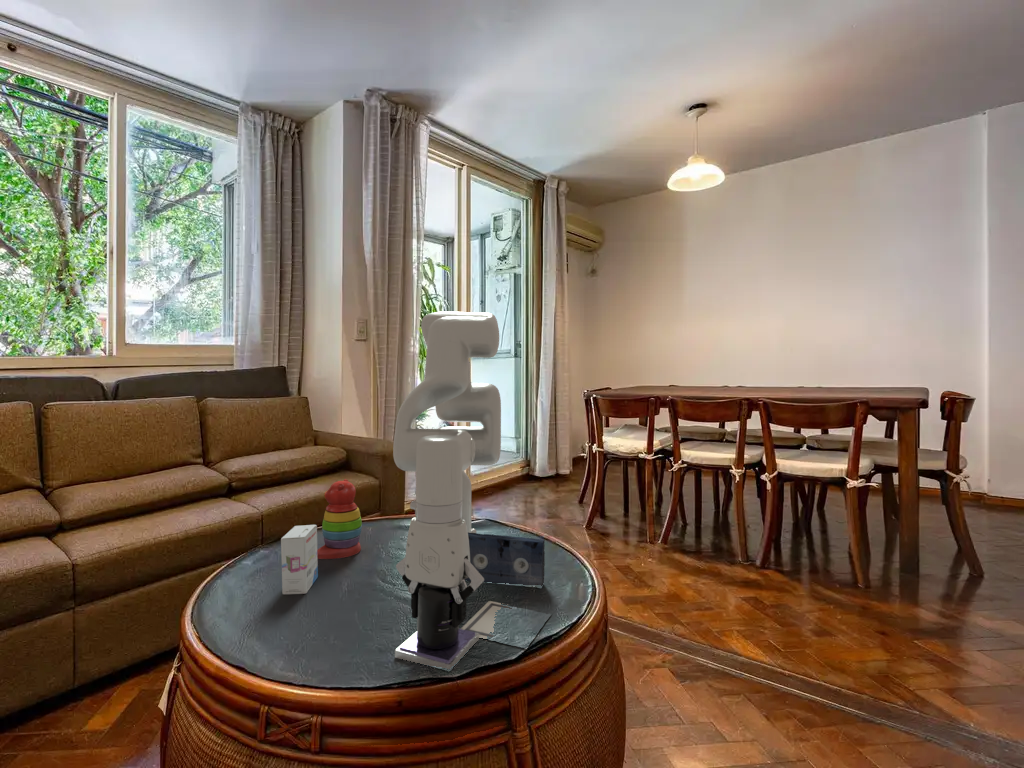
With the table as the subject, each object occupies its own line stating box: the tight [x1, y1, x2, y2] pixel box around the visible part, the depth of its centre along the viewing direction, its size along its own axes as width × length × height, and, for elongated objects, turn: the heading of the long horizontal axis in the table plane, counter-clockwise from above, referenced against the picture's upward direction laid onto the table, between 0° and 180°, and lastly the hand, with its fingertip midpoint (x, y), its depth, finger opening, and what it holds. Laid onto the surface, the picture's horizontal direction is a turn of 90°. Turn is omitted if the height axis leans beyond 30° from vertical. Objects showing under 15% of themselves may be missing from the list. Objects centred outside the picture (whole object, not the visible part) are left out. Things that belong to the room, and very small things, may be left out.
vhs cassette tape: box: [464, 532, 546, 586], centre depth 110 cm, size 18×3×10 cm, turn 76°
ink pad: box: [394, 628, 480, 669], centre depth 84 cm, size 10×10×2 cm
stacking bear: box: [317, 478, 363, 560], centre depth 127 cm, size 11×10×18 cm
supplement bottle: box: [416, 583, 460, 650], centre depth 83 cm, size 7×7×12 cm
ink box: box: [280, 524, 319, 595], centre depth 107 cm, size 9×5×12 cm, turn 5°
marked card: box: [460, 600, 512, 640], centre depth 92 cm, size 13×13×1 cm
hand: (438, 618), depth 83 cm, fingers closed on supplement bottle, 6 cm apart
